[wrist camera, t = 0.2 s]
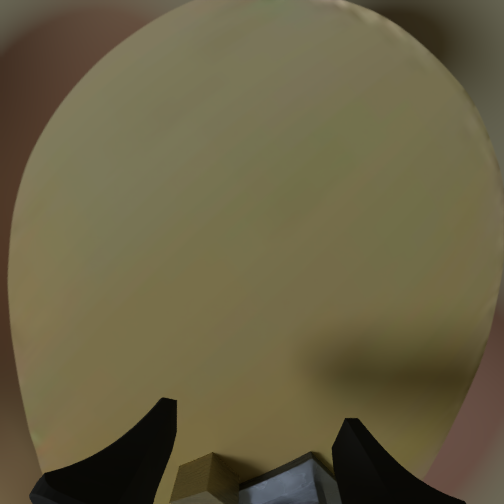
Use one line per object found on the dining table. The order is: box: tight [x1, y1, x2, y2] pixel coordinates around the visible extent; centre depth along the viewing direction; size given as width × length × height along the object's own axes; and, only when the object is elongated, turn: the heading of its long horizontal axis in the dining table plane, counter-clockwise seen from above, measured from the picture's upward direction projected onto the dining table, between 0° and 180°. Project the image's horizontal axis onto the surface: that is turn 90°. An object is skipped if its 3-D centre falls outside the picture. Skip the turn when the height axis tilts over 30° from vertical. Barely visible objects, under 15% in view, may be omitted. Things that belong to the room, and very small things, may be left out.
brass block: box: [169, 452, 240, 504], centre depth 21 cm, size 4×4×5 cm
